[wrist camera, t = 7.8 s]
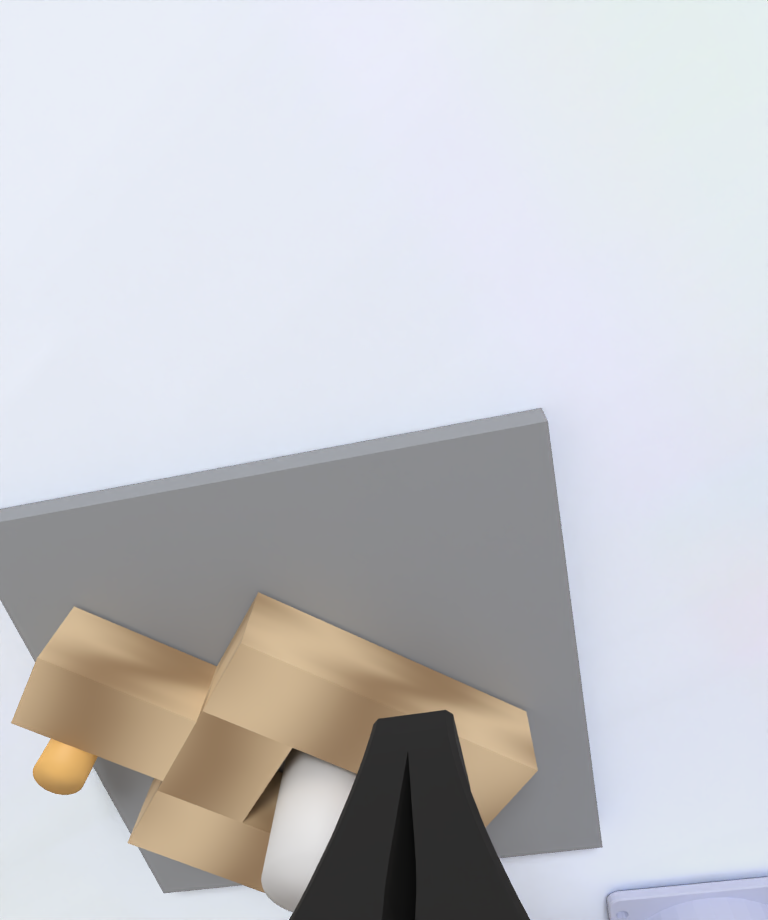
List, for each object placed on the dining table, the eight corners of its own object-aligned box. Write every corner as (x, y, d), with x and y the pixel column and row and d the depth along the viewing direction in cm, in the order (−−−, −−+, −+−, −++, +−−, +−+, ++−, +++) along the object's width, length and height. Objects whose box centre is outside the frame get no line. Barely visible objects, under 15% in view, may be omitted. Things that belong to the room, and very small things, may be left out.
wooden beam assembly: (526, 711, 23) (537, 770, 21) (387, 872, 27) (385, 936, 25) (107, 524, 21) (72, 570, 19) (21, 733, 25) (-17, 790, 23)
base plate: (596, 823, 27) (641, 994, 22) (171, 870, 30) (117, 1035, 24) (541, 408, 20) (589, 511, 14) (-21, 513, 22) (-161, 636, 17)
